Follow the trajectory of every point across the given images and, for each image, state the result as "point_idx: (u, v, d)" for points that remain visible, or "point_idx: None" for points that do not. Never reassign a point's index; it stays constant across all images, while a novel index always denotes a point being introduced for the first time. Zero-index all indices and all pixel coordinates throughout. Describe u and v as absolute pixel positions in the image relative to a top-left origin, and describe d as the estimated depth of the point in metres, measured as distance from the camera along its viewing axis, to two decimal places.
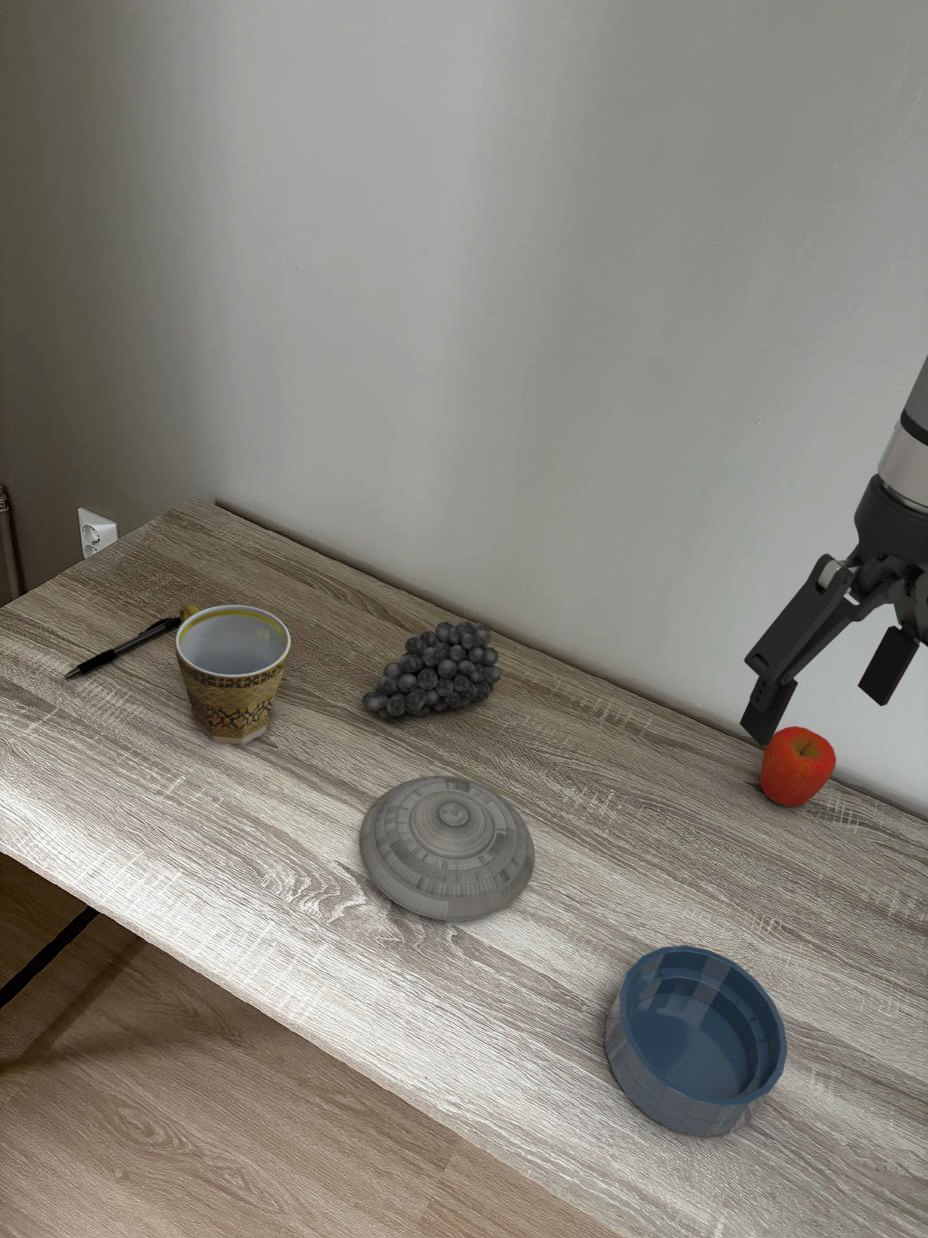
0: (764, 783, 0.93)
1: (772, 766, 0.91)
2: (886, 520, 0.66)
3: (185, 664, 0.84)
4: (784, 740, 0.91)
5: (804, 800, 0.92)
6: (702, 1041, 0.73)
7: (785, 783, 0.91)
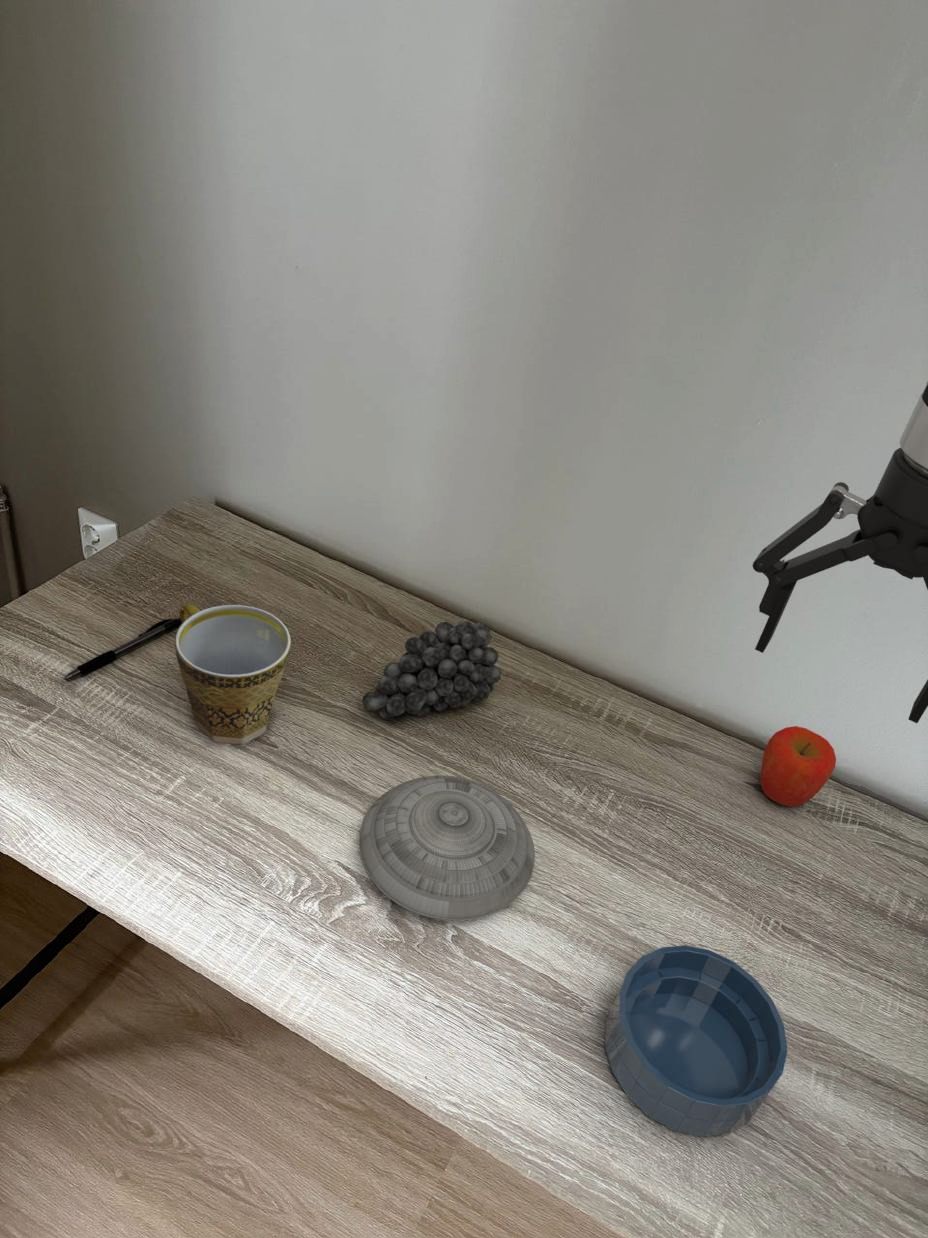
0: (764, 783, 0.93)
1: (772, 766, 0.91)
2: None
3: (185, 664, 0.84)
4: (784, 740, 0.91)
5: (804, 800, 0.92)
6: (702, 1041, 0.73)
7: (785, 783, 0.91)
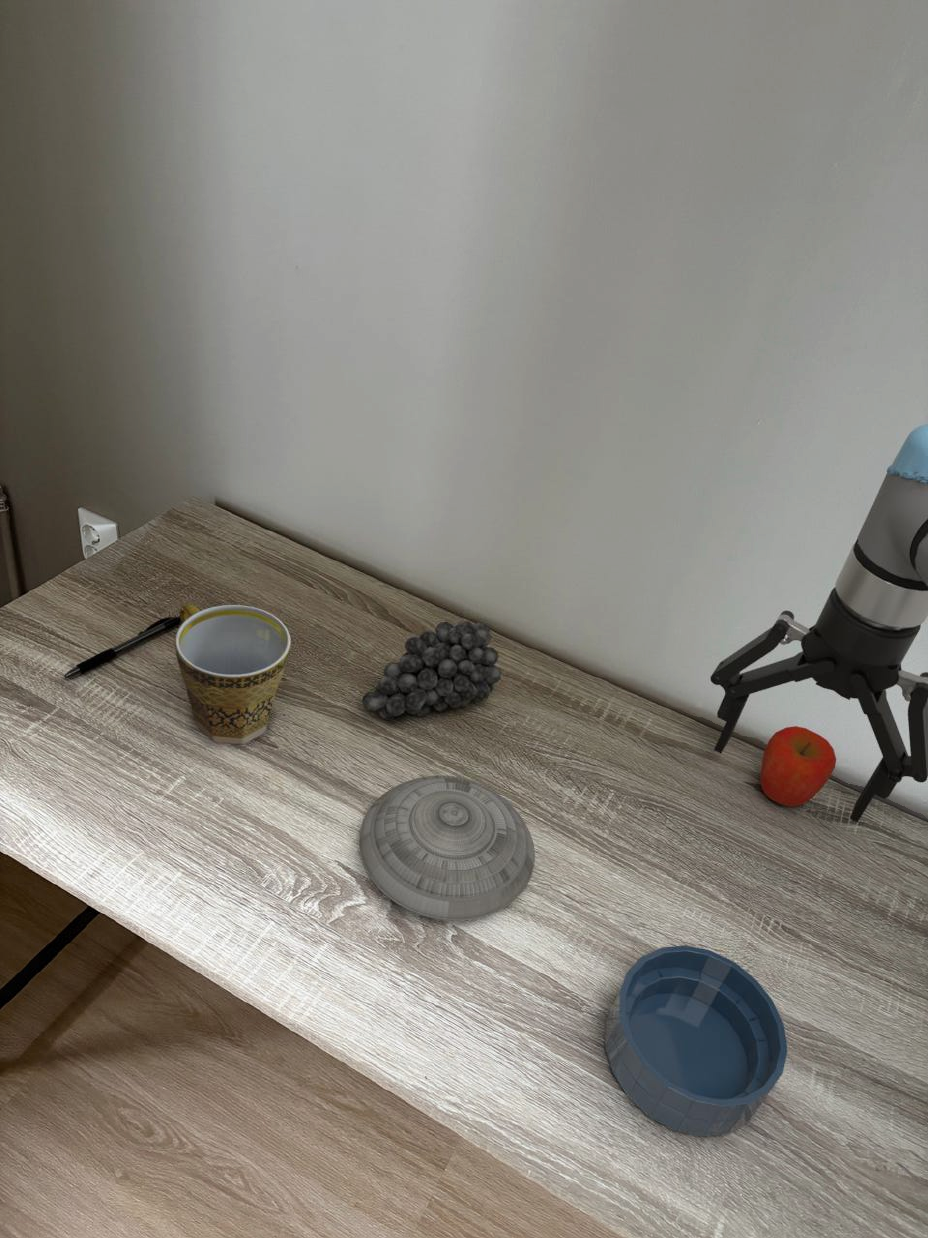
0: (764, 783, 0.93)
1: (772, 766, 0.91)
2: (826, 602, 0.83)
3: (185, 664, 0.84)
4: (784, 740, 0.91)
5: (804, 800, 0.92)
6: (702, 1041, 0.73)
7: (785, 783, 0.91)
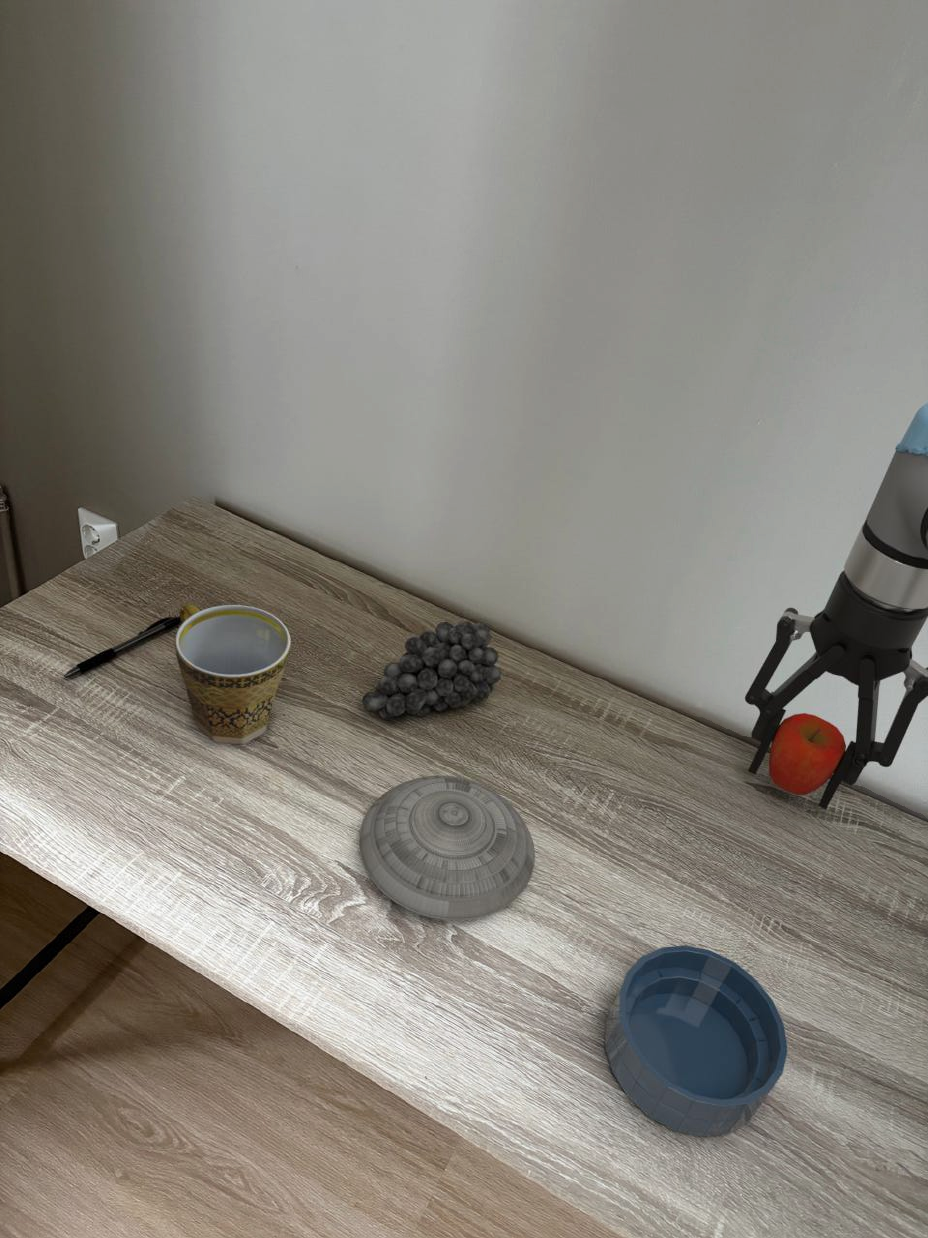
0: (773, 771, 0.92)
1: (780, 753, 0.89)
2: None
3: (185, 664, 0.84)
4: (793, 726, 0.90)
5: (813, 788, 0.91)
6: (702, 1041, 0.73)
7: (794, 770, 0.89)
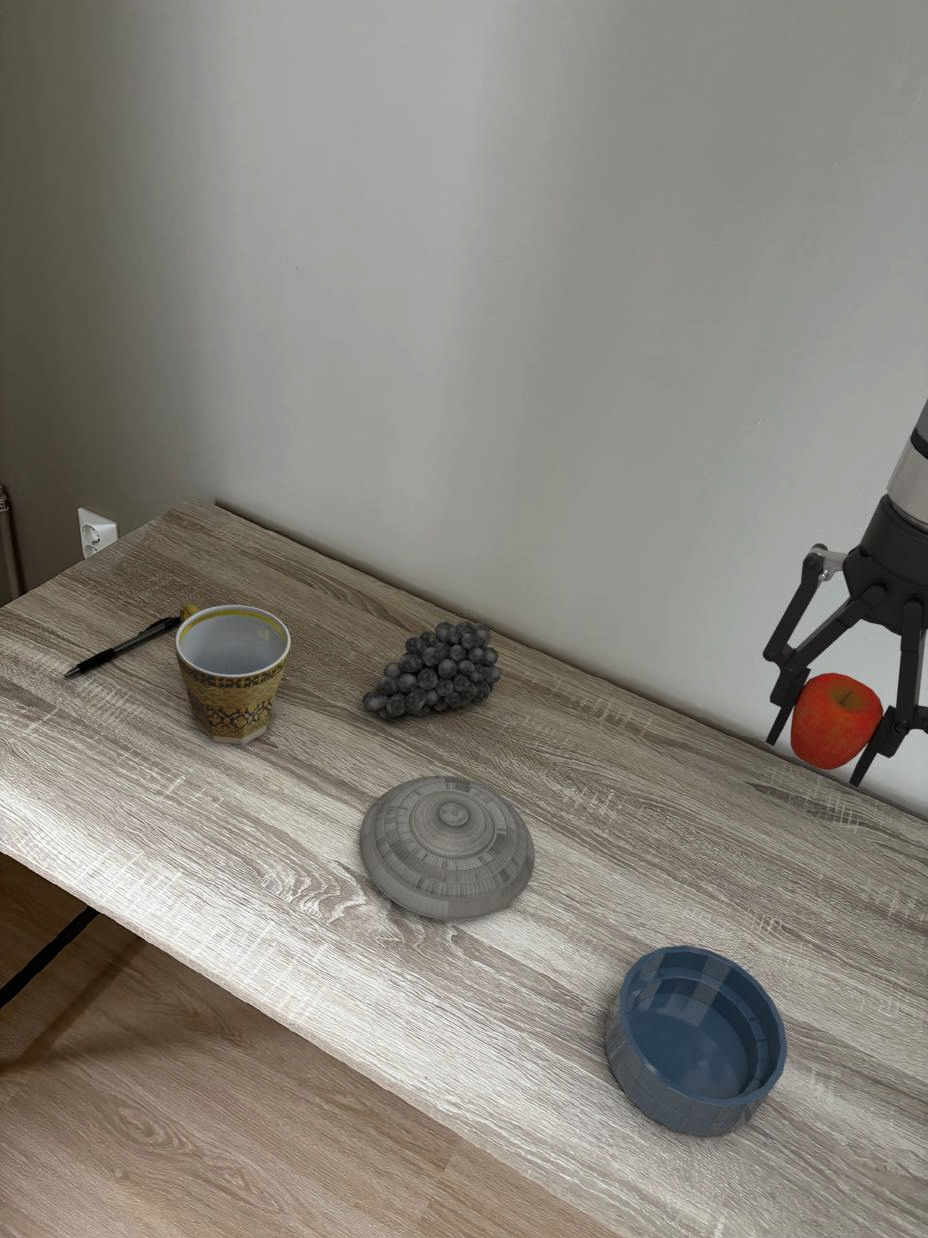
0: (795, 741, 0.77)
1: (805, 719, 0.75)
2: (874, 512, 0.67)
3: (185, 664, 0.84)
4: (820, 687, 0.75)
5: (844, 761, 0.76)
6: (702, 1041, 0.73)
7: (821, 739, 0.75)
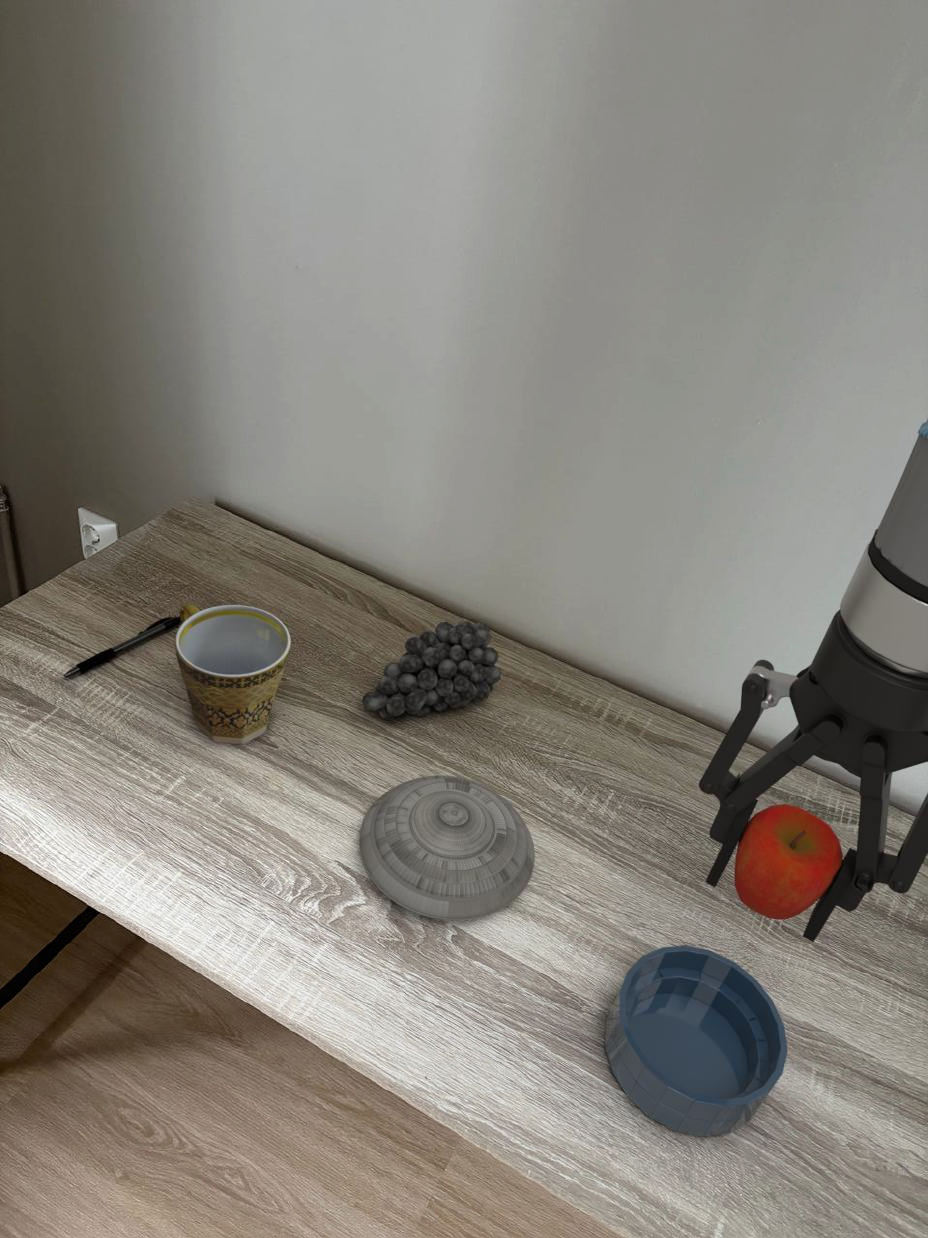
0: (739, 886, 0.65)
1: (749, 866, 0.62)
2: (826, 632, 0.55)
3: (185, 664, 0.84)
4: (766, 826, 0.62)
5: (796, 913, 0.64)
6: (702, 1041, 0.73)
7: (768, 890, 0.62)
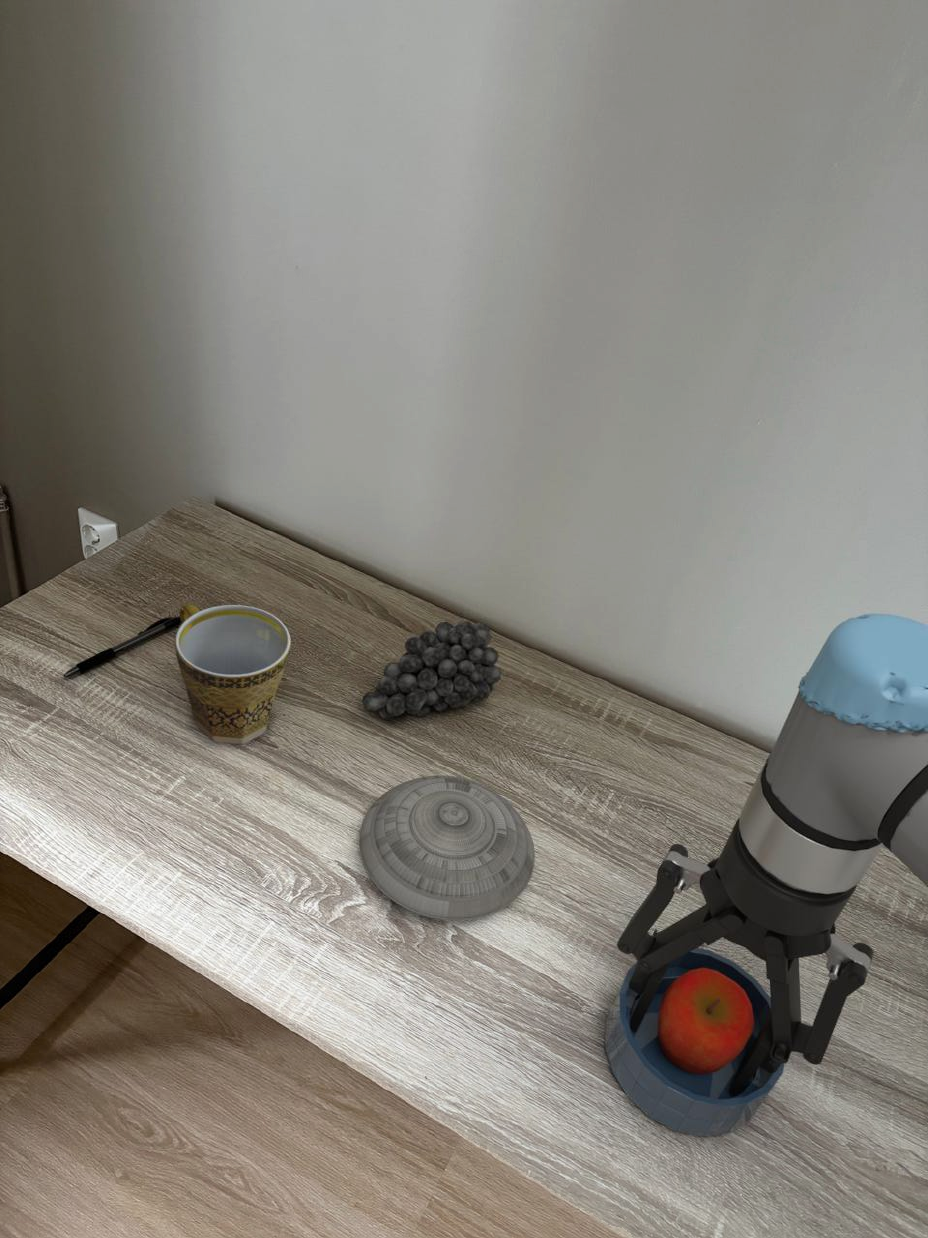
0: (661, 1045, 0.70)
1: (668, 1031, 0.68)
2: (729, 836, 0.60)
3: (185, 664, 0.84)
4: (684, 995, 0.68)
5: None
6: None
7: (685, 1054, 0.67)
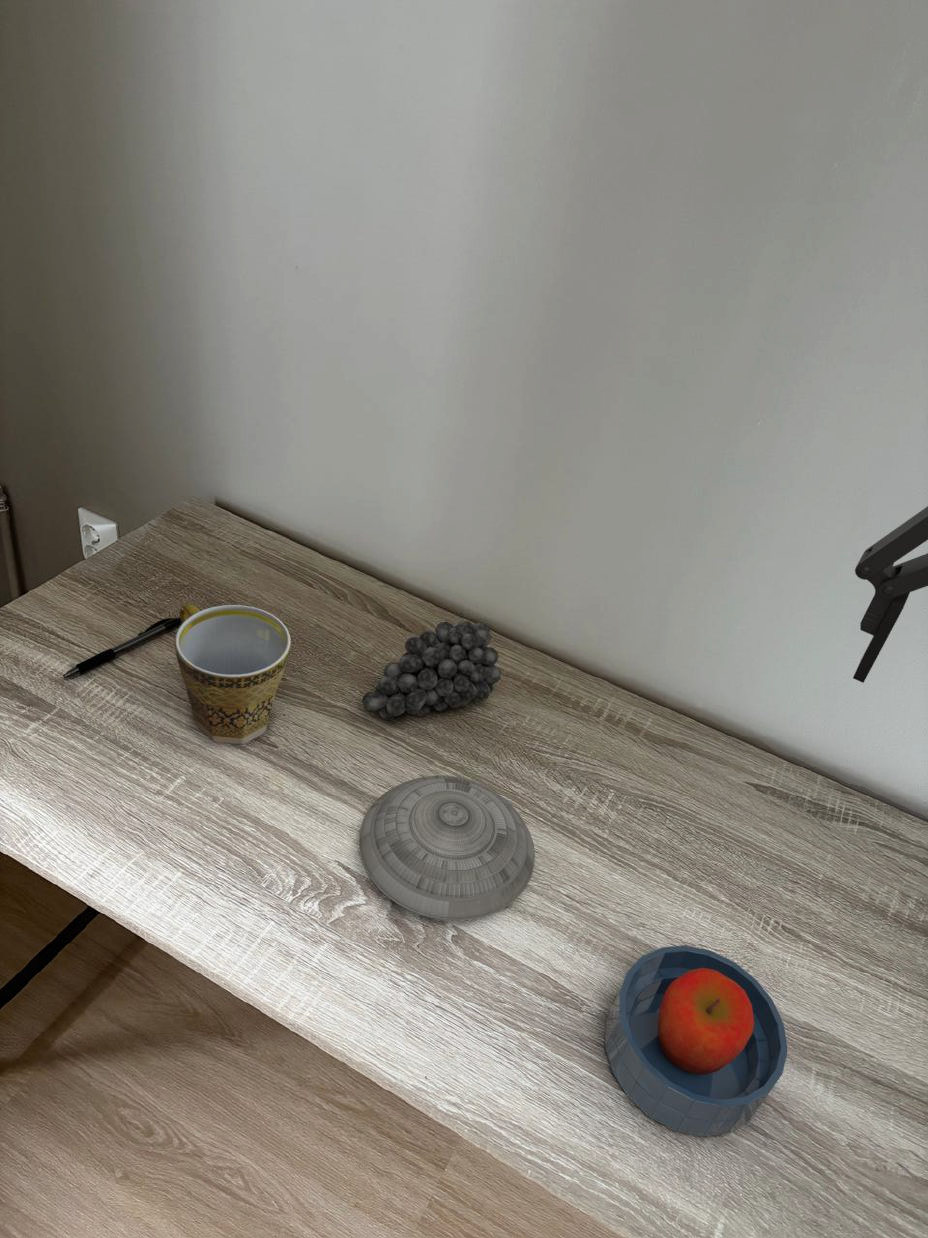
0: (661, 1045, 0.70)
1: (668, 1031, 0.68)
2: None
3: (185, 664, 0.84)
4: (684, 995, 0.68)
5: None
6: None
7: (685, 1054, 0.67)
